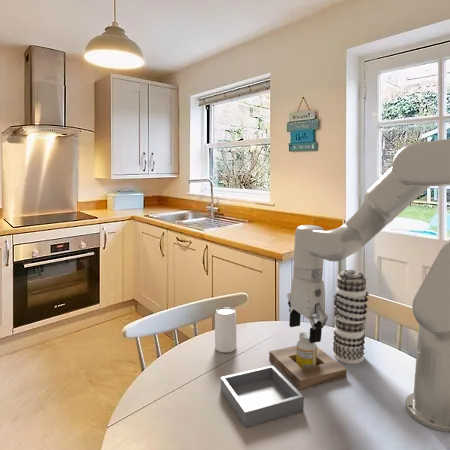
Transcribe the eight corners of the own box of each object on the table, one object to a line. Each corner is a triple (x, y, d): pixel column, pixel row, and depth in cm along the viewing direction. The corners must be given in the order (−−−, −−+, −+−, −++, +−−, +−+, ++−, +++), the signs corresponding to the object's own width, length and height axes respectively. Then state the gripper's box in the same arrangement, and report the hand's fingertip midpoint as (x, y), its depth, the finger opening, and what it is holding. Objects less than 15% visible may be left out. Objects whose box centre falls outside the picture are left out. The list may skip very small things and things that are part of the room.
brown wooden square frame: (346, 377, 98) (346, 368, 97) (300, 390, 93) (300, 380, 92) (310, 350, 112) (311, 342, 112) (269, 359, 107) (269, 351, 107)
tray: (303, 411, 85) (303, 396, 84) (245, 427, 79) (245, 412, 79) (272, 378, 98) (272, 365, 97) (220, 390, 93) (220, 377, 92)
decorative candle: (370, 364, 104) (374, 277, 100) (336, 364, 104) (339, 277, 100) (359, 348, 113) (363, 267, 109) (328, 348, 113) (331, 267, 110)
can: (223, 341, 119) (222, 305, 117) (240, 347, 115) (240, 309, 113) (210, 349, 113) (210, 311, 112) (228, 355, 110) (228, 316, 108)
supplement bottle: (307, 375, 99) (307, 341, 97) (291, 367, 103) (292, 334, 101) (320, 369, 102) (321, 335, 100) (305, 361, 106) (305, 329, 105)
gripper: (341, 281, 92) (336, 346, 95) (301, 262, 108) (298, 319, 111) (315, 284, 89) (311, 351, 92) (278, 265, 105) (276, 322, 108)
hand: (304, 333), depth 101 cm, fingers open, 9 cm apart
